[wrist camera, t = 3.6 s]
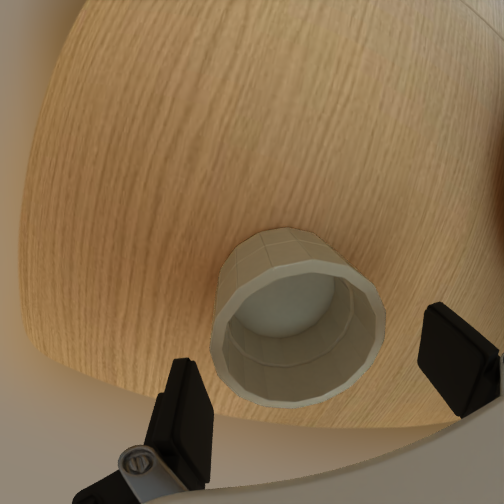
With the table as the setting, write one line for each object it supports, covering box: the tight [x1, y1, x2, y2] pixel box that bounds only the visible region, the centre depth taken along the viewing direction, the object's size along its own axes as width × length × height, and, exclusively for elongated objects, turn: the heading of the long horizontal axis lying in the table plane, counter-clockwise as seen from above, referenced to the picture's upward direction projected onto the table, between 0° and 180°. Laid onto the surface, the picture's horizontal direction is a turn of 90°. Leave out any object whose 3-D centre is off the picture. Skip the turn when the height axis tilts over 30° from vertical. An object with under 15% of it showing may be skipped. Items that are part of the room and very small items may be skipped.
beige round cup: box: [209, 227, 386, 408], centre depth 14 cm, size 7×7×6 cm
